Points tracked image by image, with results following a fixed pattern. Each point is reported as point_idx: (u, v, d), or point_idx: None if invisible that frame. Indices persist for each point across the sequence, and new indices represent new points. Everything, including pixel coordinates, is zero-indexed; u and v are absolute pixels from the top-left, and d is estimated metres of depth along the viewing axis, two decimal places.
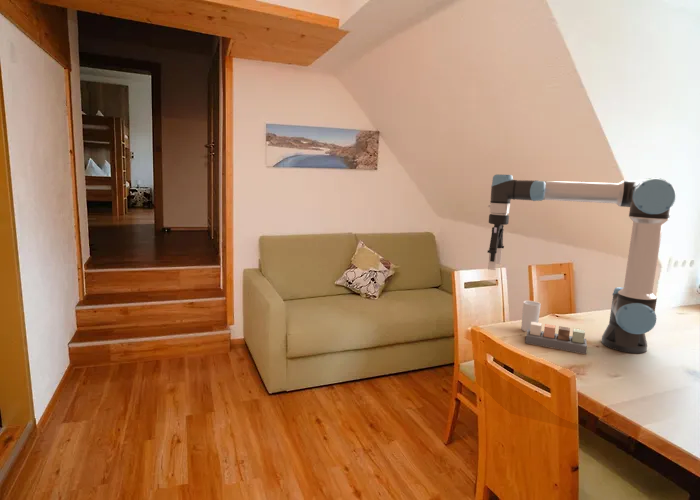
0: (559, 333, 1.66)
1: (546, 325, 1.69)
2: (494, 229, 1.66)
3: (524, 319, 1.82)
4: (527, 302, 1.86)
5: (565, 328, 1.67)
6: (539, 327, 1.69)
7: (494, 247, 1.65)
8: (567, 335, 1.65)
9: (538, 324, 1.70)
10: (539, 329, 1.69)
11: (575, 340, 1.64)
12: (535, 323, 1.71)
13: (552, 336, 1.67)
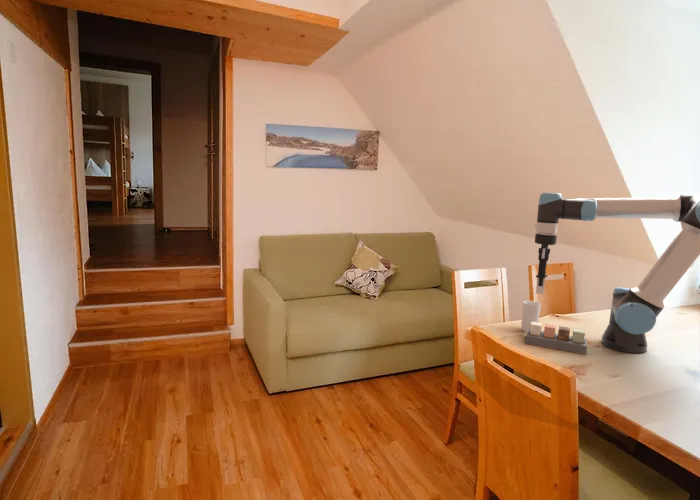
0: (559, 333, 1.66)
1: (546, 325, 1.69)
2: (542, 256, 1.61)
3: (524, 319, 1.82)
4: (527, 302, 1.86)
5: (565, 328, 1.67)
6: (539, 327, 1.69)
7: (543, 273, 1.64)
8: (567, 335, 1.65)
9: (538, 324, 1.70)
10: (539, 329, 1.69)
11: (575, 340, 1.64)
12: (535, 323, 1.71)
13: (552, 336, 1.67)
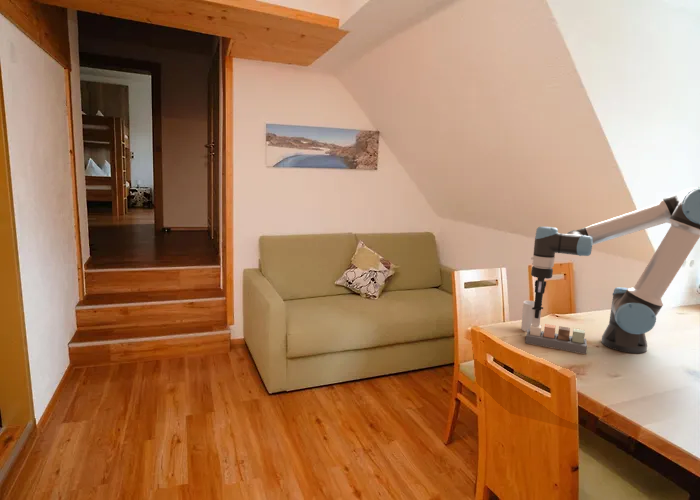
0: (559, 333, 1.66)
1: (546, 325, 1.69)
2: (538, 290, 1.63)
3: (524, 319, 1.82)
4: (527, 302, 1.86)
5: (565, 328, 1.67)
6: (539, 329, 1.69)
7: (539, 306, 1.66)
8: (567, 335, 1.65)
9: (538, 326, 1.70)
10: (539, 331, 1.69)
11: (575, 340, 1.64)
12: None
13: (552, 336, 1.67)
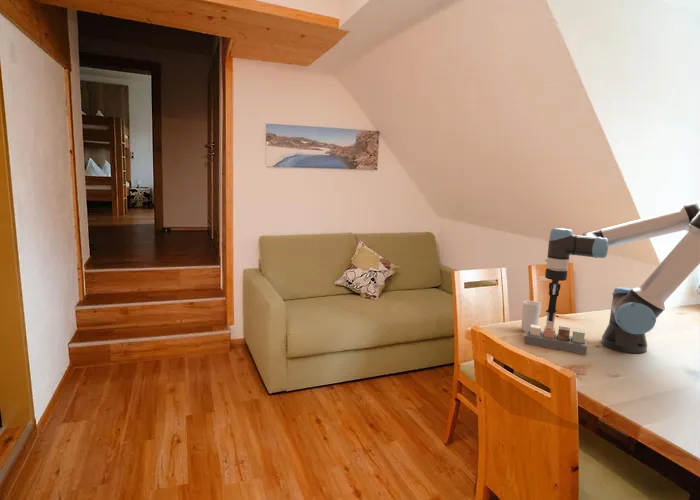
0: (559, 333, 1.66)
1: (546, 328, 1.70)
2: (552, 292, 1.61)
3: (524, 319, 1.82)
4: (527, 302, 1.86)
5: (565, 328, 1.67)
6: (539, 330, 1.69)
7: (553, 309, 1.64)
8: (567, 335, 1.65)
9: (538, 327, 1.71)
10: (539, 332, 1.69)
11: (575, 340, 1.64)
12: (535, 326, 1.72)
13: None
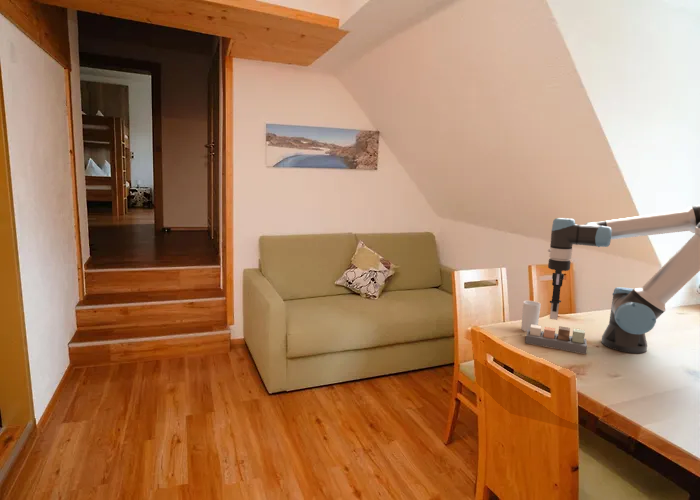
0: (559, 333, 1.66)
1: (546, 328, 1.70)
2: (556, 282, 1.60)
3: (524, 319, 1.82)
4: (527, 302, 1.86)
5: (565, 328, 1.67)
6: (539, 330, 1.69)
7: (557, 299, 1.63)
8: (567, 335, 1.65)
9: (538, 327, 1.71)
10: (539, 332, 1.69)
11: (575, 340, 1.64)
12: (535, 326, 1.72)
13: None
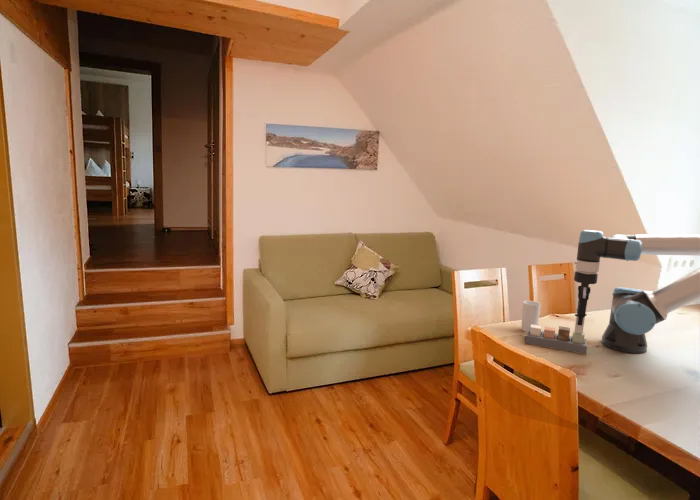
0: (559, 333, 1.66)
1: (546, 328, 1.70)
2: (583, 296, 1.57)
3: (524, 319, 1.82)
4: (527, 302, 1.86)
5: (565, 328, 1.67)
6: (539, 330, 1.69)
7: (583, 313, 1.59)
8: (567, 335, 1.65)
9: (538, 327, 1.71)
10: (539, 332, 1.69)
11: (575, 342, 1.64)
12: (535, 326, 1.72)
13: None
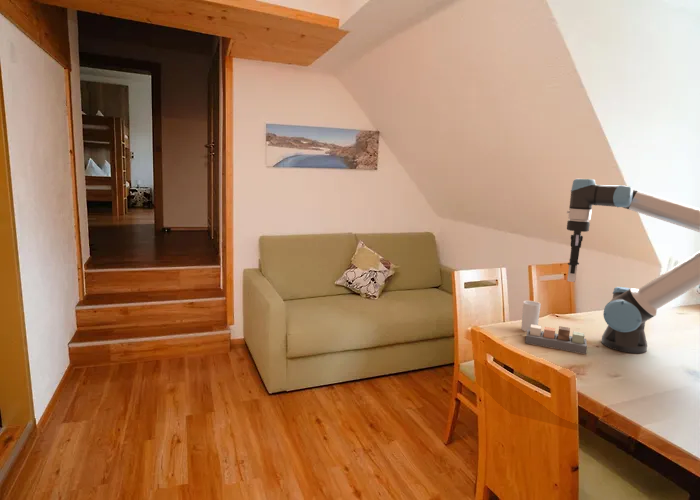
0: (559, 333, 1.66)
1: (546, 328, 1.70)
2: (575, 243, 1.59)
3: (524, 319, 1.82)
4: (527, 302, 1.86)
5: (565, 328, 1.67)
6: (539, 330, 1.69)
7: (576, 260, 1.62)
8: (567, 335, 1.65)
9: (538, 327, 1.71)
10: (539, 332, 1.69)
11: None
12: (535, 326, 1.72)
13: None
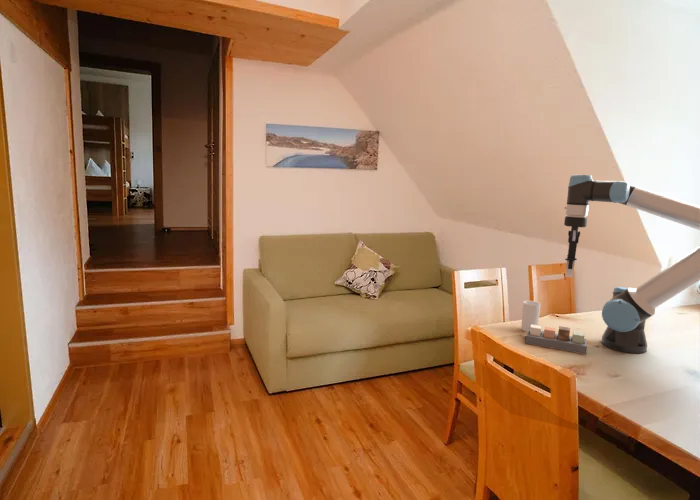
0: (559, 333, 1.66)
1: (546, 328, 1.70)
2: (572, 238, 1.60)
3: (524, 319, 1.82)
4: (527, 302, 1.86)
5: (565, 328, 1.67)
6: (539, 330, 1.69)
7: (573, 256, 1.63)
8: (567, 335, 1.65)
9: (538, 327, 1.71)
10: (539, 332, 1.69)
11: None
12: (535, 326, 1.72)
13: None
